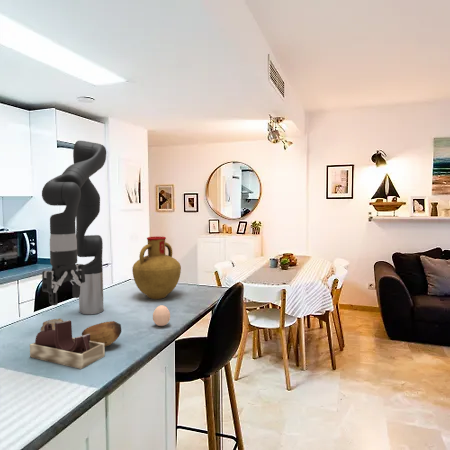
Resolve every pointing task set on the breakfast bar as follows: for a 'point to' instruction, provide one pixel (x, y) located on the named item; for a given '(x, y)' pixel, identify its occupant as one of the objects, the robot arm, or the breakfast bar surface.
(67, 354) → the wooden tray
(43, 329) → the rock
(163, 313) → the egg
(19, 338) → the breakfast bar surface
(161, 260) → the vase
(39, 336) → the bracket
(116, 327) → the potato
